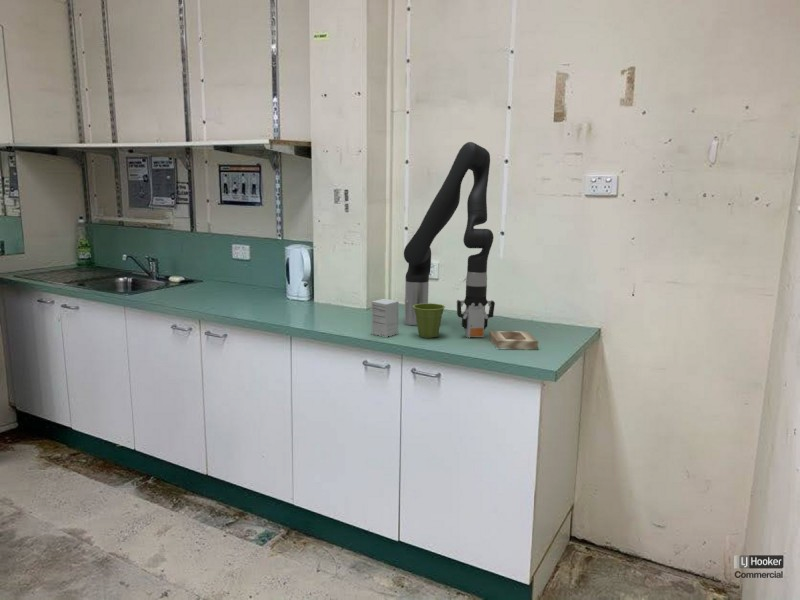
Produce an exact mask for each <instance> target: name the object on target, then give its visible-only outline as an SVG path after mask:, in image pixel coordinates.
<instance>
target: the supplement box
mask: <svg viewBox="0 0 800 600" xmlns="http://www.w3.org/2000/svg"><path fill="white" fill-rule="evenodd" d="M399 304H400V303H399V301H398V300H394V299H389V298H382V299H377V300H374V301H373V300H372V301H371V335H373V334H375V335H374V336H377V335H379V336H378V337H381V336H384V337H383V338H388V336H389V337H392V335H393V336H396V335H398V334H399ZM395 334H396V335H395Z"/></svg>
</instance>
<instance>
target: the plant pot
mask: <svg viewBox="0 0 800 600" xmlns="http://www.w3.org/2000/svg"><path fill="white" fill-rule="evenodd" d="M413 308H414V310H415V314H416V319H417V325H416V327H417V330H418V336H419V337H421V338H423V337H425V339H426V338H427V339H431V338H438V337H439V333H440V328H441V322H442V315H443V314H444V309H446V306H445V305H443V304H440V303H431V302H428V303H424V304H416V305H413Z"/></svg>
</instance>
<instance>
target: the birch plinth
mask: <svg viewBox="0 0 800 600" xmlns="http://www.w3.org/2000/svg"><path fill="white" fill-rule="evenodd" d="M488 332H489V334H488V335H489V336H488V337H489V338H488V339H489V341H490V340H491V341H492V342H491V341H490V342H491V344H492V345H493V344H494V345H495V346H496V347H497V348H505V349H538V348H539V340H537V338H535V337H534V336H533V335H532V334H531V333H530V332H529V331H528V330H524V331H523V330H509V331H508V330H489V331H488ZM494 345H493V346H494ZM495 346H494V347H495ZM496 347H495V348H496ZM538 350H539V349H538Z"/></svg>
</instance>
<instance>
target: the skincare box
mask: <svg viewBox="0 0 800 600" xmlns="http://www.w3.org/2000/svg"><path fill="white" fill-rule="evenodd" d="M468 308H469V314H468V316H467V317H466V319H467V322H466V329H464V336H465V335H466V336H467V337H466V336H465V337H466V338H468V337H469V338H468V339H471V338H470V337H483V338H484V333H485V332H484V331H485V329H484V318H485V313H484V314H483V313H482V307H479V306H469V307H468ZM468 308H467V306H466V305H465V309H466V310H468ZM483 308H484V310H485V311H486V306H483Z"/></svg>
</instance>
